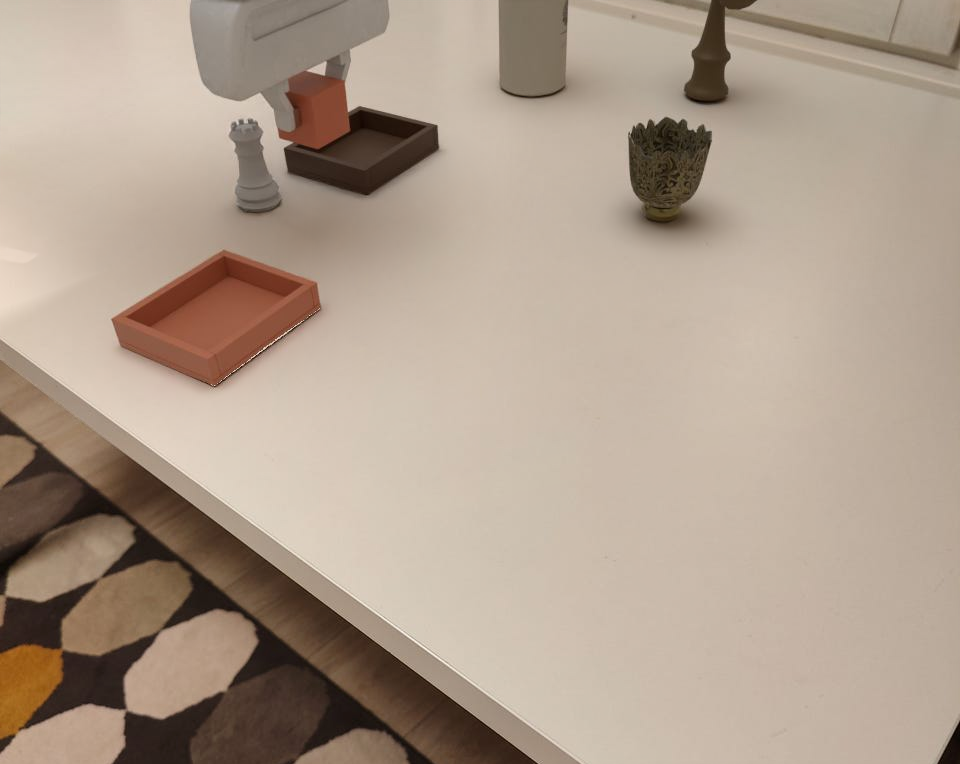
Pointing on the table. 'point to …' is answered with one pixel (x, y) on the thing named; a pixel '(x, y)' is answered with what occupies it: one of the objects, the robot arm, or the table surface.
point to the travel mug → (532, 46)
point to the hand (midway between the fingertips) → (311, 116)
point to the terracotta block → (317, 109)
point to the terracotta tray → (216, 315)
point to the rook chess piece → (252, 169)
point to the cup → (666, 165)
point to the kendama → (712, 54)
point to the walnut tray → (366, 151)
